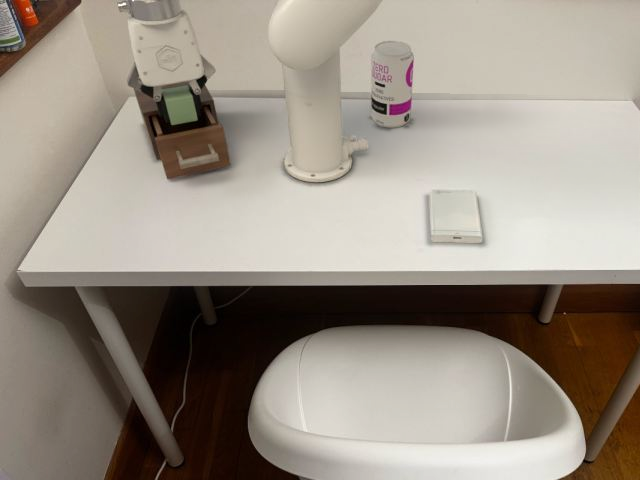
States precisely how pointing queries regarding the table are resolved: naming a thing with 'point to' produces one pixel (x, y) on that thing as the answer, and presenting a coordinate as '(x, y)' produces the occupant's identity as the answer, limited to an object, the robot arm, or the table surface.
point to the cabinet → (150, 108)
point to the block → (179, 105)
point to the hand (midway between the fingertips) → (182, 115)
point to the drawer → (191, 145)
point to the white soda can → (391, 83)
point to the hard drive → (455, 216)
